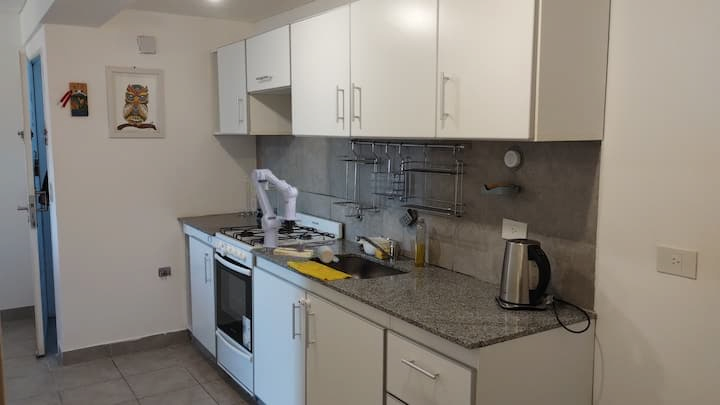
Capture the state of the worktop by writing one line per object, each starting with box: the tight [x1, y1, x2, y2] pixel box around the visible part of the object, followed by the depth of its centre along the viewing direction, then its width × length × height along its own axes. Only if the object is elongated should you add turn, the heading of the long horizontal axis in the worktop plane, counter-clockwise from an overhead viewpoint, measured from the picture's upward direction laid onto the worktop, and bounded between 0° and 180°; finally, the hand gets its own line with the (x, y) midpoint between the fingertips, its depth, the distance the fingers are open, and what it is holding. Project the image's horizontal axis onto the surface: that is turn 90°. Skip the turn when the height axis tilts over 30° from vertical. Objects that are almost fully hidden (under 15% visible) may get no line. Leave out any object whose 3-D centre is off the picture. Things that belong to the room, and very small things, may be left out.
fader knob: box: [297, 242, 306, 252], centre depth 310 cm, size 4×3×4 cm
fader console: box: [272, 246, 314, 258], centre depth 311 cm, size 9×20×2 cm, turn 85°
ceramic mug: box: [316, 245, 340, 264], centre depth 299 cm, size 11×8×8 cm
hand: (289, 234), depth 316 cm, fingers closed
